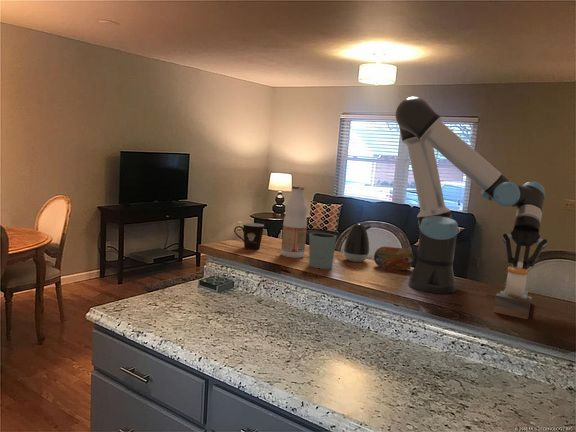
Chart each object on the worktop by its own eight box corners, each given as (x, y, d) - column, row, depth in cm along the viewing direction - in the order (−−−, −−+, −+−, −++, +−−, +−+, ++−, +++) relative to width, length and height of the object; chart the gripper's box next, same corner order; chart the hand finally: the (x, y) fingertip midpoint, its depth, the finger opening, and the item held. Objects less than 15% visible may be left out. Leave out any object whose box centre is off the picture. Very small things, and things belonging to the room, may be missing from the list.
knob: (503, 299, 145) (508, 265, 144) (523, 303, 143) (528, 268, 141) (502, 303, 140) (507, 268, 139) (522, 307, 138) (527, 272, 137)
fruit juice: (280, 257, 188) (285, 186, 185) (281, 252, 198) (287, 184, 194) (303, 259, 188) (310, 188, 184) (304, 254, 197) (310, 186, 194)
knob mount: (500, 296, 156) (502, 280, 156) (530, 302, 152) (533, 286, 151) (493, 312, 139) (496, 294, 138) (527, 319, 135) (530, 300, 134)
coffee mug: (266, 248, 202) (268, 225, 201) (254, 251, 195) (256, 227, 194) (244, 244, 208) (245, 221, 207) (231, 246, 201) (233, 222, 200)
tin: (373, 267, 185) (375, 245, 184) (372, 265, 188) (375, 244, 187) (412, 271, 183) (415, 249, 182) (412, 269, 186) (414, 248, 185)
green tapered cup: (318, 270, 171) (321, 237, 170) (301, 264, 179) (303, 232, 178) (339, 268, 177) (342, 236, 176) (321, 262, 185) (324, 231, 184)
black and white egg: (373, 263, 191) (377, 225, 189) (350, 263, 187) (354, 225, 185) (360, 257, 200) (364, 221, 198) (338, 257, 196) (341, 221, 194)
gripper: (548, 232, 156) (540, 293, 144) (505, 226, 162) (493, 284, 150) (551, 217, 151) (542, 279, 138) (506, 212, 157) (494, 271, 144)
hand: (517, 282), depth 144 cm, fingers closed
